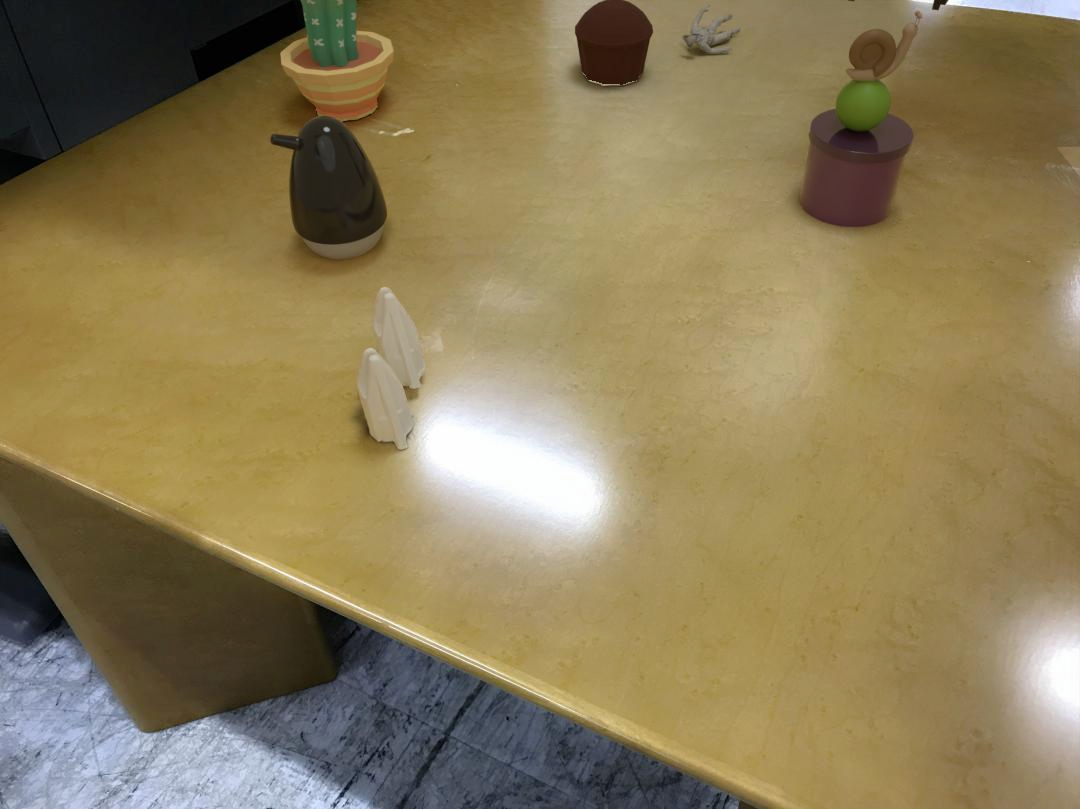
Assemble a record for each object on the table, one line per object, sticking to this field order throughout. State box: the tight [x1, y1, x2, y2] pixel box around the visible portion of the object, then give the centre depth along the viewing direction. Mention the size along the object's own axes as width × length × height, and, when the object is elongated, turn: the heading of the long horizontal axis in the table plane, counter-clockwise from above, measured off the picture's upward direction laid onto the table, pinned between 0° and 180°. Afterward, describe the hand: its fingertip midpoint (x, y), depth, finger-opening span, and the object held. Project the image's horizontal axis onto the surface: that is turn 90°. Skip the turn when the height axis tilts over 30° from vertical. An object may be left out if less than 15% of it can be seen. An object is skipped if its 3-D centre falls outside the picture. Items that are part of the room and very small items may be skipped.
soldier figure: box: [681, 4, 741, 55], centre depth 138 cm, size 8×5×12 cm
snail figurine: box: [835, 10, 923, 131], centre depth 91 cm, size 5×6×12 cm
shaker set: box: [356, 286, 426, 451], centre depth 78 cm, size 12×4×11 cm, turn 175°
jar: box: [798, 108, 915, 228], centre depth 99 cm, size 11×11×11 cm
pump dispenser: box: [269, 116, 388, 261], centre depth 96 cm, size 10×10×15 cm
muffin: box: [574, 0, 654, 85], centre depth 129 cm, size 12×11×10 cm
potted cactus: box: [279, 0, 395, 119], centre depth 118 cm, size 15×15×25 cm
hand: (893, 2), depth 94 cm, fingers open, 8 cm apart
